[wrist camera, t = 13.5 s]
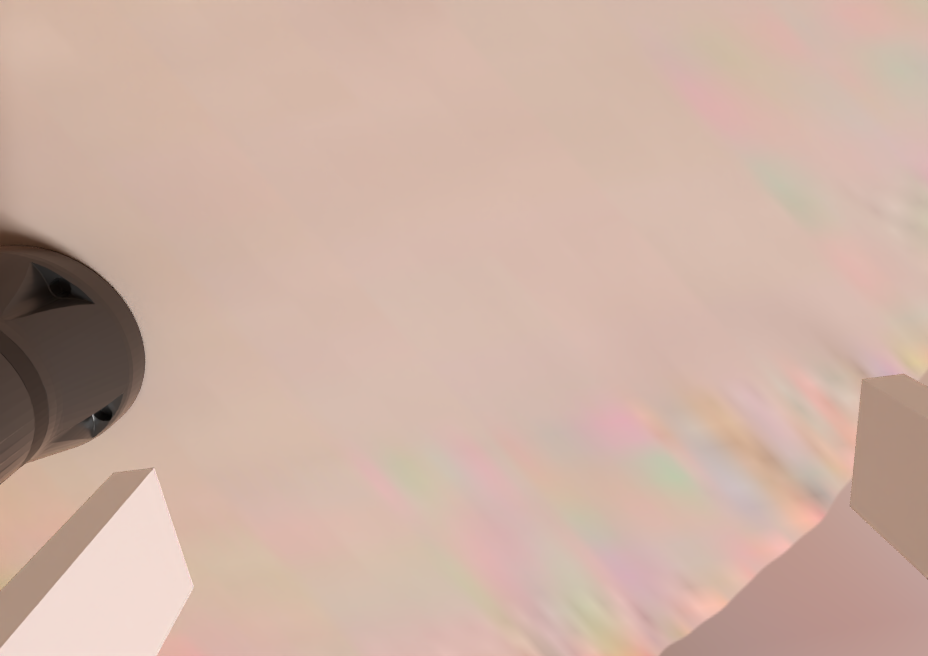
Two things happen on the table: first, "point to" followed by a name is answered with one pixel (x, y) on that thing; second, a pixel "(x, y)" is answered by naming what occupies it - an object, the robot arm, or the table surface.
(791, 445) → the table surface
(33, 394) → the robot arm
